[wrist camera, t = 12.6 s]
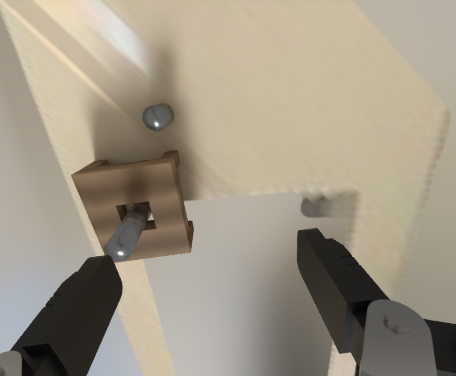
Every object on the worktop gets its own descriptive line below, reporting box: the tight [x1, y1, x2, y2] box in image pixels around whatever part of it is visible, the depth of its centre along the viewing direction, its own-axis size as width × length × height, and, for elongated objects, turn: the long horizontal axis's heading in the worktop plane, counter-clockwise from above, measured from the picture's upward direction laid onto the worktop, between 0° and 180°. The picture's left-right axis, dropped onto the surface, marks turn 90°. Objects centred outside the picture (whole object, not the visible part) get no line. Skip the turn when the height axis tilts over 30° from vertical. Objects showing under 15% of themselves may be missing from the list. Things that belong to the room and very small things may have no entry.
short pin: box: [142, 104, 174, 131], centre depth 33 cm, size 3×3×6 cm
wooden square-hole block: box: [71, 151, 194, 263], centre depth 38 cm, size 16×14×7 cm
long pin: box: [104, 201, 152, 262], centre depth 34 cm, size 3×3×15 cm
